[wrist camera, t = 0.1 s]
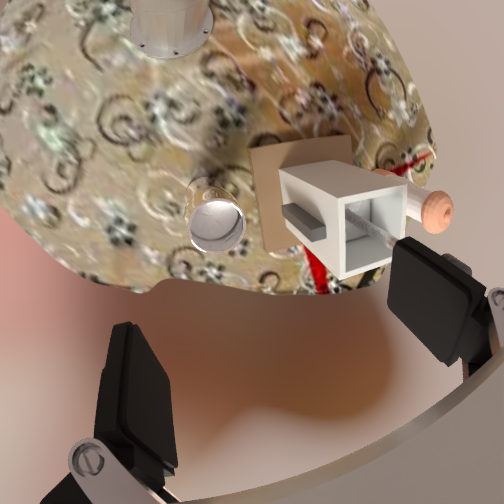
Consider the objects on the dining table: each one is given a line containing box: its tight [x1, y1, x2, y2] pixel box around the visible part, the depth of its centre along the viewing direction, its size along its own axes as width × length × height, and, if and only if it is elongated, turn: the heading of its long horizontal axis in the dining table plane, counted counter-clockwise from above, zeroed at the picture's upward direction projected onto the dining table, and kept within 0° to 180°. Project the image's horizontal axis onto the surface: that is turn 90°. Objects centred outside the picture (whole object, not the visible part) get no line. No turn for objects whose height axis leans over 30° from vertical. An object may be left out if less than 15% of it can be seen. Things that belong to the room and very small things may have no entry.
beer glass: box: [185, 177, 246, 254], centre depth 37 cm, size 7×7×15 cm
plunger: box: [345, 199, 472, 277], centre depth 27 cm, size 8×8×20 cm
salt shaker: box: [371, 168, 453, 234], centre depth 42 cm, size 7×7×19 cm
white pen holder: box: [247, 134, 407, 280], centre depth 39 cm, size 18×18×20 cm
